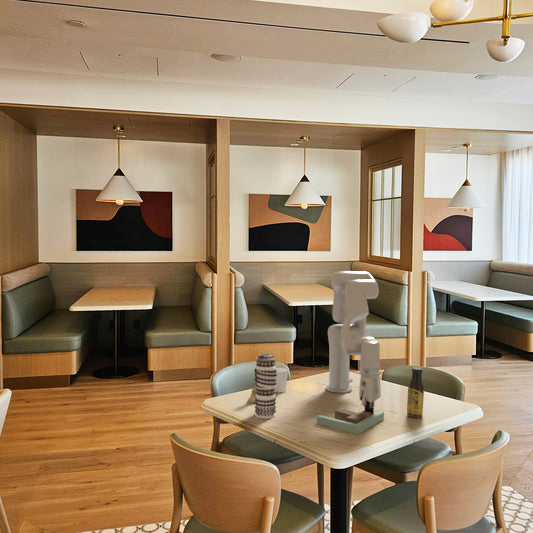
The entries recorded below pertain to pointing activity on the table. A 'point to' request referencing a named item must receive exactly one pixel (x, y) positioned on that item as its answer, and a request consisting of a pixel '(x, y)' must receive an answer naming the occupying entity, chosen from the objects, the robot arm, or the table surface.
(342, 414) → the t block
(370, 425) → the corner fence
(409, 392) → the sauce bottle
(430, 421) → the table surface
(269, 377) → the patterned stacked cylinder
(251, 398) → the hand bell
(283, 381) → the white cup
